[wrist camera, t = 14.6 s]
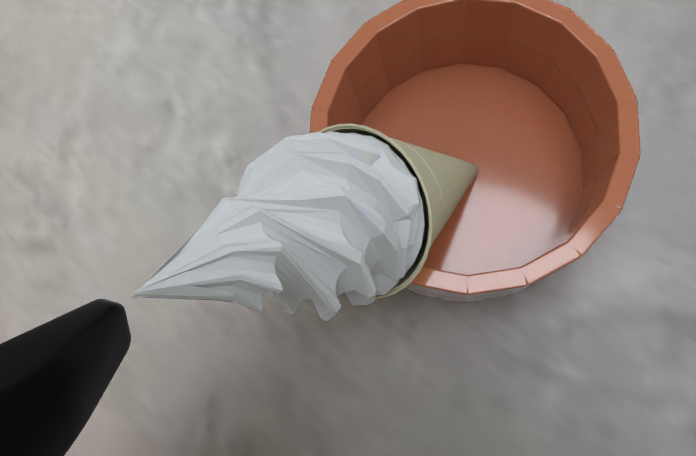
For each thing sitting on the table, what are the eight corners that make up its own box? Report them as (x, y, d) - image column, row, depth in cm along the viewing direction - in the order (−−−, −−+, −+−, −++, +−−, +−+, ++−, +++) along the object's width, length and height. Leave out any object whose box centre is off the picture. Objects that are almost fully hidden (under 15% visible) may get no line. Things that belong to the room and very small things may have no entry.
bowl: (576, 326, 21) (618, 324, 16) (313, 274, 23) (276, 257, 18) (613, 73, 23) (661, -1, 18) (362, 44, 25) (342, -30, 20)
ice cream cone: (396, 140, 24) (34, 221, 12) (500, 78, 21) (142, 108, 9) (447, 249, 24) (127, 435, 12) (560, 203, 20) (272, 397, 9)
